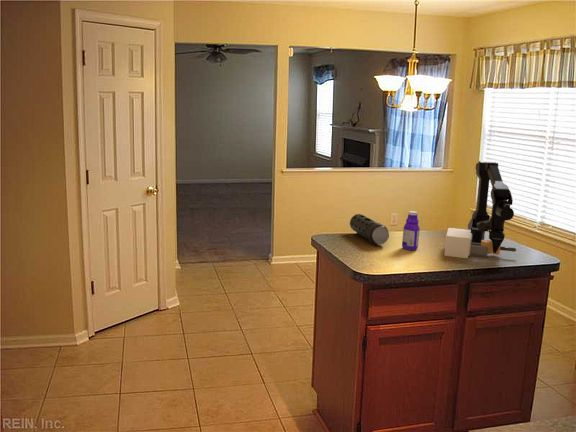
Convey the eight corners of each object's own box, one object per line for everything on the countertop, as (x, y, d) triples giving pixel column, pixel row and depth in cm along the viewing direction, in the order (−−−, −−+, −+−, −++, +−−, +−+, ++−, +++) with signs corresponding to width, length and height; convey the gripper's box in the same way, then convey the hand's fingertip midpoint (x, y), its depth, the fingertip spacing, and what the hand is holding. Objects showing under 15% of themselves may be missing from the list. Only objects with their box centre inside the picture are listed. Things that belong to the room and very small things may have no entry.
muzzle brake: (366, 233, 297) (367, 213, 295) (389, 247, 271) (391, 225, 269) (348, 233, 295) (349, 213, 292) (370, 247, 268) (372, 225, 266)
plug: (480, 252, 261) (481, 241, 260) (480, 250, 265) (481, 239, 264) (515, 256, 257) (517, 245, 256) (515, 254, 260) (516, 243, 259)
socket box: (444, 255, 259) (446, 235, 257) (446, 246, 276) (448, 227, 274) (487, 260, 254) (489, 240, 252) (486, 250, 271) (489, 231, 269)
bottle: (420, 249, 268) (423, 212, 265) (413, 251, 264) (416, 213, 261) (406, 246, 273) (409, 209, 270) (399, 248, 269) (402, 211, 265)
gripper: (479, 210, 269) (475, 243, 272) (478, 217, 252) (475, 253, 255) (504, 212, 266) (500, 246, 269) (506, 220, 248) (502, 256, 251)
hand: (494, 250), depth 261 cm, fingers open, 9 cm apart
